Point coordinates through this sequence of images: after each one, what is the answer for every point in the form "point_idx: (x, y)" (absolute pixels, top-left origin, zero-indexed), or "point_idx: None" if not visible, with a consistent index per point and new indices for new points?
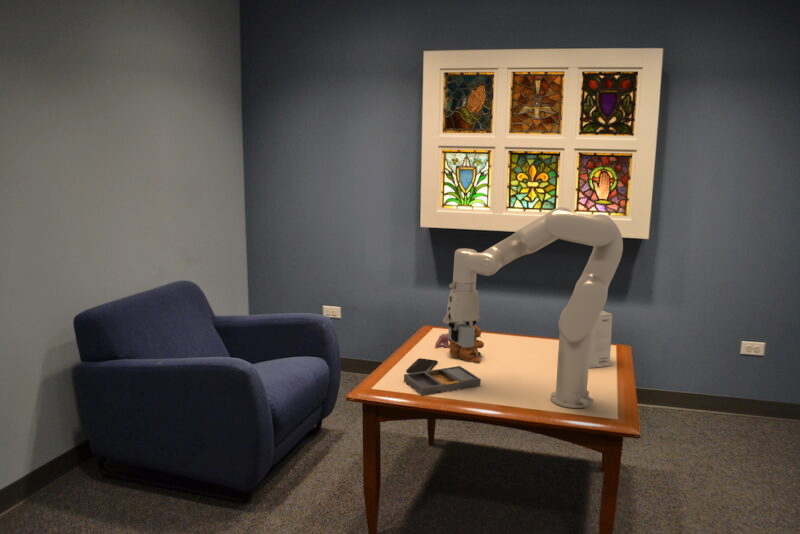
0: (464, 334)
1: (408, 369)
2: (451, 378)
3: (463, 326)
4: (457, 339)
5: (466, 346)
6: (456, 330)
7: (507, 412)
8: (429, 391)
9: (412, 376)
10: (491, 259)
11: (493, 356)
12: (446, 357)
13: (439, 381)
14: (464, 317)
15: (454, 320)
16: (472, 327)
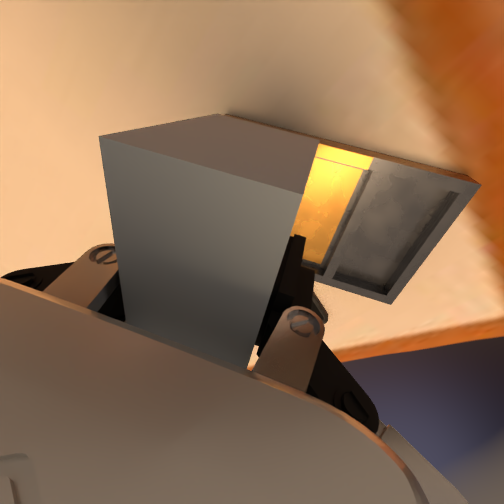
0: (303, 167)
1: None
2: None
3: (202, 296)
4: (292, 242)
5: (285, 132)
6: (289, 304)
7: None
8: (440, 170)
9: (368, 286)
10: None
11: (82, 252)
12: None
13: (327, 216)
14: (123, 438)
15: (413, 486)
16: (112, 203)
